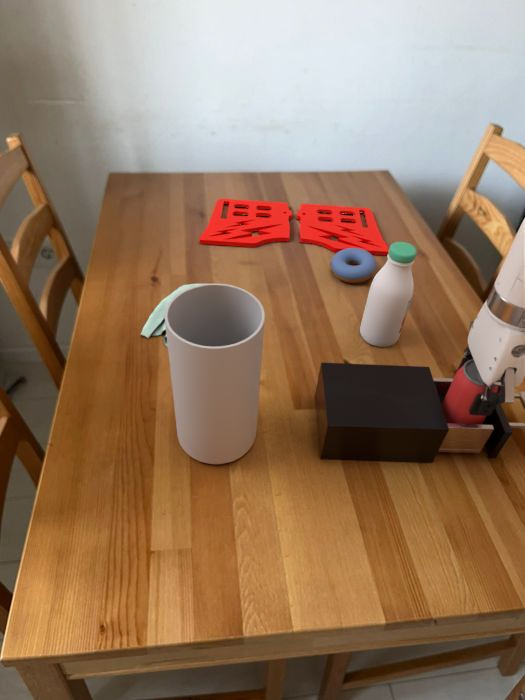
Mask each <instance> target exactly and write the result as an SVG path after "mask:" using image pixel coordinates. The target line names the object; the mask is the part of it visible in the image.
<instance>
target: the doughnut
mask: <svg viewBox="0 0 525 700" xmlns="http://www.w3.org/2000/svg"><path fill="white" fill-rule="evenodd" d="M330 270H331V272H332V274H333V276H334V277H335V278H337V279H338V280H340V281H342V282H345V283H348V284H359V283H364V282H366V281H367V280H370V279H371V278H372V277H373V276H374V275H375V272H376V270H377V262H376V258H375V257H374V255H372V254H370V253H369V252H367V251H365V250H363V249H359V248H347V249H343V250H341V251H339V252H335V254H334V255H333V256H332V258H331V262H330Z"/></svg>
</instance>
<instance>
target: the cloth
mask: <svg viewBox="0 0 525 700" xmlns="http://www.w3.org/2000/svg"><path fill="white" fill-rule="evenodd" d="M203 284H209V283H190V284H189V283H188V284H182V285H181V286H178V287H177V289H175V290H174V291H172V292H171V293H170V294H169V295H168V296H166V297H165V298H163V299H161V301H159V303H158V304H157V306H156V307H155V308H154V310H153V311H152V312H151V314H150V315H149V317H148V318H147V320H146V323H145V324H144V326H143V328H142V330H141V332H140V337H141V336H142V337H146V338H147V339H150V337H158V336H162V334H163V332H164V331H166V325H165V310H166V307H167V305H168V304H169V302H170V301H171V300H172V299H173V298H174V297H175V296H176V295H177V294H179V293H180V292H182V291H184V290H186V289H188V288H191V287H194V286H198V285H203ZM163 344H164V346H165V347H166V348H168V344H167V335H166V334H165V335H164V338H163Z"/></svg>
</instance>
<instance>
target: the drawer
mask: <svg viewBox="0 0 525 700" xmlns="http://www.w3.org/2000/svg"><path fill="white" fill-rule="evenodd" d="M453 379H454V377H433V380H434V384H435V387H436V390H437V393H438V396H439V399H440V403H441V405H442V403H443V401H444V399H445V396H446V394H447V392H448V390H449V388H450V385H451V383H452V381H453ZM514 399H519V401H520V403H521V405H522V407H523V409H524V410H525V390H523V391H520V392H519V393H516V392H514ZM447 425H448V428H449V431H448V433H447V435H446V437H445V439H444V441H443V443H442V445H441V447H440V449H439V451H438V453H458V454H459V453H460V454H461V453H463V454H464V453H465V454H480V453H481V452H482V450H483V449H485V452H486V455H487V458H488V459H497V458H498V456H499V455H500V453H501V451H502V450H503V448H504V447H505V446H506V444H507V443H508V441H509V440H510V438H511V436H512V435H513V433H514V432H513V430H512V429H525V422H509V419H508V418H507V415H506V412H505V411H504V409H503V406H502V403H498V404H497V406H496V407H495V409H494V411H493V412H492V414H491V415H489V416H486V418H485V420H484V421H483V423H482V425H481V424H453V423H447Z"/></svg>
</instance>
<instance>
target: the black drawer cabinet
mask: <svg viewBox="0 0 525 700" xmlns="http://www.w3.org/2000/svg"><path fill="white" fill-rule="evenodd" d="M317 377H318V378H317V383H316V386H315V387H316V388H315V394H314V405H315V407H314V408H315V418H316V427H317V428H316V430H317V440H318V451H319V460H327V461H328V460H329V461H330V460H332V461H360V462H361V461H362V462H386V463H387V462H390V463H391V462H392V463H419V464H420V463H421V464H433V463H434V461H435V459H436V456H437V455H438V453H439V452H438V451H439V449H440V447H441V445H442V443H443V441H444V439H445V437H446V435H447V433H448V431H449V428H448V425H447V422H446V419H445V415H444V412H443V409H442V406H441V403H440V399H439V396H438V393H437V390H436V387H435V384H434V380H433V378H434V377H433V374H432V371H431V368H430V366H419V365H418V366H417V365H416V366H415V365H396V364H395V365H394V364H393V365H391V364H365V363H343V362H320V367H319V373H318V376H317Z"/></svg>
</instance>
